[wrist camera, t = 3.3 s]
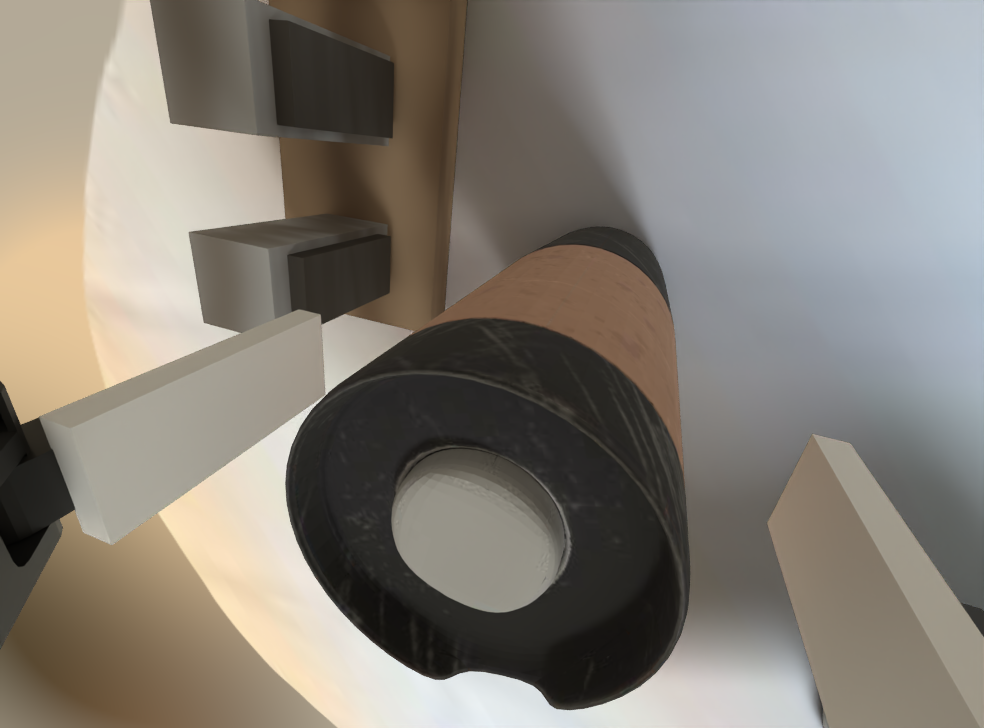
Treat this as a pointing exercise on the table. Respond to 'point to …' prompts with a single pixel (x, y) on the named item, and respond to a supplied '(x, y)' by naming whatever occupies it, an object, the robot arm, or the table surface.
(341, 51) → the board with grey blocks
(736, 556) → the table surface
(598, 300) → the travel mug
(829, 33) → the table surface
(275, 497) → the table surface
